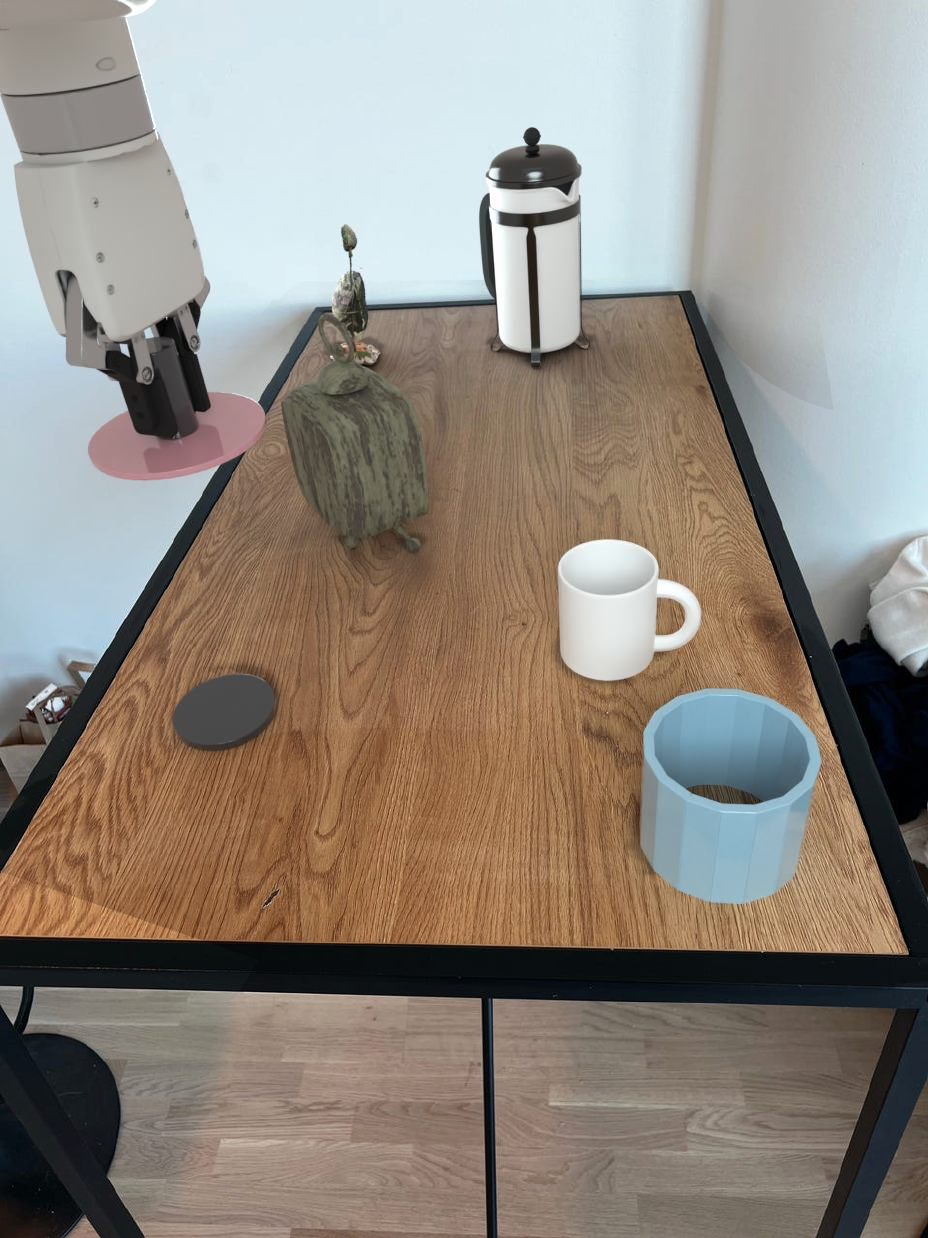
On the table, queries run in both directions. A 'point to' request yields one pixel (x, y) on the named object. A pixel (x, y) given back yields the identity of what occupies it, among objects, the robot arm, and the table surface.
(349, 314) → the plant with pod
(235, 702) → the coaster
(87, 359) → the robot arm
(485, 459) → the table surface
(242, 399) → the lid
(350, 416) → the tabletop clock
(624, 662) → the mug
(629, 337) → the table surface
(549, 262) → the coffee press
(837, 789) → the table surface
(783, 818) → the hollow cylinder
